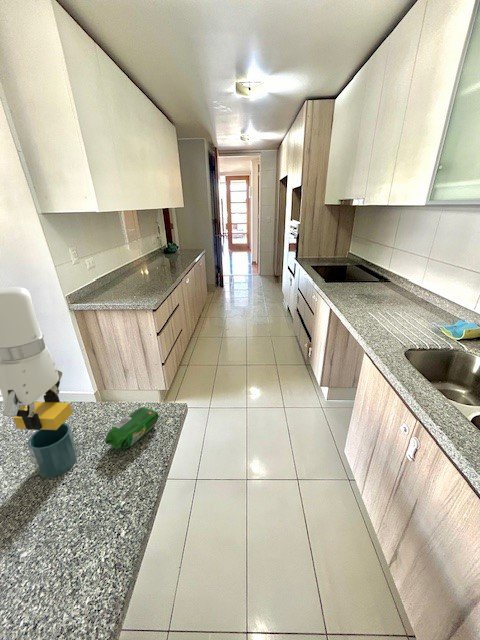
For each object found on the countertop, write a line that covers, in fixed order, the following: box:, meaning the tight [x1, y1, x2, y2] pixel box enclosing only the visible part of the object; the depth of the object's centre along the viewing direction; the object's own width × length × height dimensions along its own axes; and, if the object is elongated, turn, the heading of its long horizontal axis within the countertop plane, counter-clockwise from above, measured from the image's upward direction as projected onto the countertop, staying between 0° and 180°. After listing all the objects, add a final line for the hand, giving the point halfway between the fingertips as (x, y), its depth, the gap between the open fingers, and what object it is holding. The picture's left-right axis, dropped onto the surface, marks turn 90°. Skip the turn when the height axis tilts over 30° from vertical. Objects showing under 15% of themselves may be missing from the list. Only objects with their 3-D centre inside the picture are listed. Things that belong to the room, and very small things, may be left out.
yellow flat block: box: [12, 401, 73, 430], centre depth 59 cm, size 9×6×3 cm, turn 87°
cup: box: [27, 422, 79, 479], centre depth 63 cm, size 8×8×9 cm
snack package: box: [104, 406, 160, 454], centre depth 72 cm, size 7×16×5 cm, turn 152°
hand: (44, 418), depth 59 cm, fingers closed on yellow flat block, 5 cm apart
